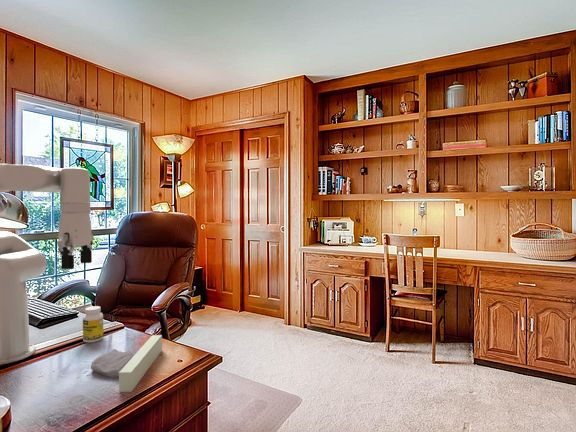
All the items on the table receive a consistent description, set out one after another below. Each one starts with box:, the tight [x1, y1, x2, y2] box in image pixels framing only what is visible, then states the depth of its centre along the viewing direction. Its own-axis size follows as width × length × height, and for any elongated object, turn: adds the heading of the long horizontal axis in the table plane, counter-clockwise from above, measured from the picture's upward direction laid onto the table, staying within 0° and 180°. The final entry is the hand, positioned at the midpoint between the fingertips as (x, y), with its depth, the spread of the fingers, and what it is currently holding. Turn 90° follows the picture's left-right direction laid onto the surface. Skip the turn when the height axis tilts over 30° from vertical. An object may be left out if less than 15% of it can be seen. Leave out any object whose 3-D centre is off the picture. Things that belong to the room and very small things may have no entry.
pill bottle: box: [82, 305, 104, 343], centre depth 119 cm, size 6×6×11 cm
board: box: [118, 334, 163, 393], centre depth 99 cm, size 3×24×5 cm, turn 2°
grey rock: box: [90, 348, 138, 378], centre depth 99 cm, size 12×5×10 cm
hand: (77, 265), depth 105 cm, fingers open, 9 cm apart
